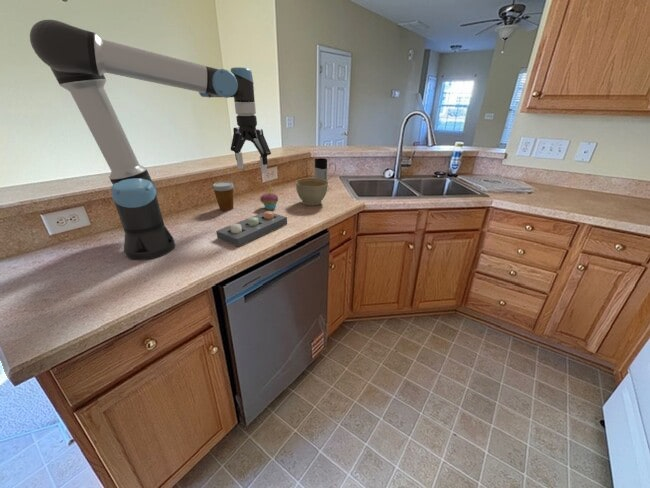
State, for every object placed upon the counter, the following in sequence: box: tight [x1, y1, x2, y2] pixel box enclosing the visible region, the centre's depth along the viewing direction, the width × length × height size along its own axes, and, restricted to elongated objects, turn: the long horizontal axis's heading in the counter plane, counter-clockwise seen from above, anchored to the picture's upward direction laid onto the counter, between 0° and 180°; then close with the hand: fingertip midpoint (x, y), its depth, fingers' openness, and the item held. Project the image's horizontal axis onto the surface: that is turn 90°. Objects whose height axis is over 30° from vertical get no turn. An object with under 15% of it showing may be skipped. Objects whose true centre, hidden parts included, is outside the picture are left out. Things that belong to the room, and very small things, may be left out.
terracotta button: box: [264, 210, 275, 220], centre depth 119 cm, size 4×4×4 cm
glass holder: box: [314, 157, 337, 181], centre depth 174 cm, size 9×14×15 cm, turn 67°
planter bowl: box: [295, 177, 329, 207], centre depth 143 cm, size 16×16×11 cm
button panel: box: [215, 211, 288, 247], centre depth 113 cm, size 26×12×3 cm, turn 145°
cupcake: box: [259, 184, 279, 210], centre depth 135 cm, size 9×8×12 cm
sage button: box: [247, 216, 259, 227], centre depth 113 cm, size 4×4×4 cm
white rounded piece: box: [229, 223, 242, 235], centre depth 106 cm, size 4×4×4 cm
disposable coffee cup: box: [212, 181, 235, 212], centre depth 134 cm, size 10×10×12 cm
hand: (252, 170), depth 119 cm, fingers open, 13 cm apart
